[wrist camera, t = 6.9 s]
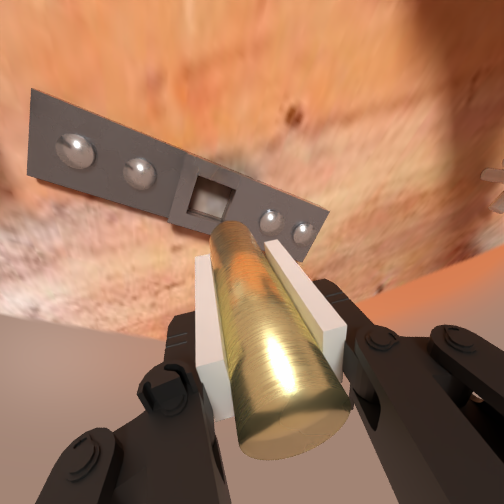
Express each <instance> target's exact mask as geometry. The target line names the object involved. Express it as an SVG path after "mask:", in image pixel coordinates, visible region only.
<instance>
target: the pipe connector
mask: <svg viewBox="0 0 504 504" xmlns="http://www.w3.org/2000/svg"><path fill="white" fill-rule="evenodd" d="M502 165H503V167H504V159H503V161H502ZM481 180H485V181H491V182H498V183H504V170H500V169H491V168H487V169H485V170H484V171H483V172H482V174H481ZM488 209H490V210H491V211H493V212H496V213H500V214H502V213H504V191H503V192H502V193H501V194H500V195H499V196H498V197H497V198H496V199H495V201H494V202H493V203H492V204H491V205H490V206H489V207H488Z"/></svg>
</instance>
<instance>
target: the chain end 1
mask: <svg viewBox="0 0 504 504" xmlns="http://www.w3.org/2000/svg"><path fill="white" fill-rule="evenodd" d="M187 152H188V151H185V150H183V149H181V148H178V147H176V146H173V145H171V144H168V143H166V142H163V141H161V140H159V139H156V138H154V137H151V136H149V135H146V134H144V133H142V132H139V131H137V130H134V129H132V128H129V127H127V126H125V125H122V124H120V123H117V122H115V121H112V120H110V119H108V118H105V117H103V116H100V115H98V114H95V113H93V112H91V111H88V110H86V109H83V108H81V107H78V106H76V105H74V104H71V103H69V102H66V101H64V100H61V99H59V98H57V97H54V96H52V95H49V94H47V93H44V92H42V91H40V90H36V89H33V88H31V102H30V122H29V141H28V161H27V175H28V176H32V177H35V178H38V179H41V180H45V181H48V182H51V183H55V184H58V185H61V186H64V187H68V188H71V189H74V190H78V191H81V192H84V193H87V194H91V195H94V196H97V197H101V198H104V199H107V200H110V201H114V202H117V203H120V204H124V205H127V206H130V207H134V208H137V209H140V210H143V211H147V212H150V213H153V214H157V215H160V216H163V217H166V218H169V214H170V211H171V207H172V204H173V200H174V197H175V193H176V189H177V186H178V182H179V179H180V175H181V172H182V168H183V165H184V161H185V158H186V154H187ZM188 153H190V152H188ZM190 154H192V155H195V154H193V153H190ZM195 156H197V157H200V156H198V155H195ZM200 158H202V157H200ZM202 159H205V158H202ZM205 160H207V159H205ZM207 161H210V160H207ZM210 162H212V161H210ZM212 163H214V164H217V163H215V162H212ZM217 165H219V164H217ZM219 166H222V165H219ZM222 167H224V166H222ZM224 168H227V167H224ZM227 169H229V168H227ZM229 170H232V169H229ZM232 171H234V170H232ZM234 172H236V171H234ZM236 173H239V172H236ZM239 174H241V173H239ZM241 175H244V174H241ZM244 176H246V175H244ZM246 177H249V176H246ZM249 178H251V177H249ZM251 179H252V178H251ZM234 190H235V189H233V188H232V191H231V194H230V196H229V199H228V202H227V204H226V207H225V210H224V213H223V215H222V218H218V217H215V216H212V215H209V214H206V213H203V212H200V211H197V210H194V209H191V208H188V209H187V211H189V212H192V213H196V214H199V215H202V216H205V217H208V218H211V219H214V220H217V221H220V222H223V219H224V217H225V214H226V211H227V208H228V206H229V203H230V200H231V198H232V195H233V192H234Z"/></svg>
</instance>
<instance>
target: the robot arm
mask: <svg viewBox="0 0 504 504" xmlns="http://www.w3.org/2000/svg"><path fill="white" fill-rule="evenodd" d="M264 247H265V256H266V259H267V260H268V262H269V264H270V266H271V267H272V269H273V271H274V272H275V274H276V276H277V277H278V279H279V281H280V282H281V284H282V286H283V287H284V289H285V291H286V293H287V294H288V296H289V298H290V299H291V301H292V303H293V304H294V306H295V308H296V309H297V311H298V313H299V314H300V316H301V318H302V319H303V321H304V323H305V325H306V326H307V328H308V330H309V331H310V333H311V335H312V336H313V338H314V340H315V341H316V343H317V345H318V346H319V348H320V350H321V352H322V353H323V355H324V357H325V358H326V360H327V362H328V363H329V365H330V367H331V368H332V370H333V372H334V373H335V375H336V377H337V379H338V380H339V382H340V383H342V379H343V372H344V374H345V376H346V377H347V379H348V380H349V382H350V392H349V399H350V402H351V410H353V407H354V403H355V406H356V408H357V410H358V412H359V415H360V417H361V419H362V421H363V423H364V426H365V428H366V430H367V433H368V435H369V437H370V439H371V441H372V444H373V446H374V448H375V450H376V453H377V455H378V457H379V459H380V462H381V464H382V466H383V469H384V471H385V473H386V475H387V477H388V479H389V482H390V484H391V486H392V489H393V491H394V493H395V495H396V498H397V500H398V502H399V504H504V351H502V350H500V349H499V348H498V347H496V346H494V345H493V344H491V343H489V342H488V341H486V340H485V339H483V338H482V337H480V336H478V335H477V334H475V333H473V332H471V331H469V330H467V329H464V328H461V327H458V326H453V325H440V326H436V327H435V328H434V329H432V331H431V334H430V337H403V336H399V335H397V334H396V333H395V332H394V331H392V330H390V329H388V328H386V327H382V326H378V325H374V324H373V323H372V322H371V321H370V320H369V319H368V318H367V317H366V315H365V314H364V313H362V311H360V309H359V308H358V307H357V306H356V305H355V304H354V303H353V302H352V301H351V300H350V299H349V298H348V297H347V296H346V295H345V294H344V293H343V292H342V290H341V289H340V288H339V287H338V286H337V285H336V284H334V283H333V282H331V281H329V280H327V279H325V278H324V279H320V280H316V281H311V280H310V279H309V278H308V276H307V275H306V274H305V273H304V271H303V270H302V269H301V268H300V266H299V265H298V264H297V263H296V262H295V260H294V259H293V258H292V257H291V255H290V254H289V253H288V252H287V250H286V249H285V248H284V247H283V246H282V244H281V243H280V242H279V241H278V239H277V240H272V241H267V242H264ZM472 392H475V393H476V394H477V395H478V396H479V397H481V398H482V399H483V400H482V399H480V398H477V397H476V396H474V395H473V394H472ZM137 396H138V397H139V399H140V401H141V403H142V404H143V406H144V408H145V409H146V410H145V411H144V412H143V413H142V414H140V415H139V416H138V417H136V418H135V419H133V420H132V421H130V422H129V423H127V424H125V425H124V426H122V427H121V428H119V429H117V430H116V431H114V432H112V431H110V430H109V429H107V428H95V429H92V430H90V431H87V432H85V433H84V434H82V435H81V436H80V437H78V438H77V439H75V440H74V441H73V442H72V443H71V444H70V445H69V446H68V447H67V448H66V449H65V450H64V451H63V453H62V454H61V456H60V457H59V459H58V460H57V462H56V463H55V465H54V467H53V469H52V471H51V473H50V475H49V477H48V479H47V481H46V483H45V485H44V487H43V489H42V491H41V493H40V495H39V497H38V499H37V501H36V503H35V504H231V499H230V495H229V490H228V485H227V481H226V476H225V472H224V467H223V462H222V458H221V453H220V449H219V444H218V440H217V437H216V435H215V432H214V431H215V430H214V418H215V421H216V422H218V421H221V420H224V419H227V418H231V417H233V416H235V415H234V408H233V401H232V394H231V387H230V378H229V371H228V365H227V358H226V351H225V344H224V337H223V331H222V324H221V317H220V310H219V303H218V296H217V290H216V283H215V276H214V270H213V266H212V262H211V258H210V254H206V255H202V256H197V257H195V311H193V312H189V313H185V314H181V315H177V316H174V318H173V320H172V321H171V323H170V324H169V326H168V332H167V340H166V349H165V354H164V362H162V363H161V364H159V365H157V366H155V367H154V368H153V369H151V370H150V371H149V372H148V373H147V374H146V375H145V376H144V378H143V380H142V381H141V383H140V384H139V388H138V391H137Z"/></svg>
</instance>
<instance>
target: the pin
mask: <svg viewBox="0 0 504 504" xmlns="http://www.w3.org/2000/svg"><path fill="white" fill-rule="evenodd" d="M209 243H210V250H211V257H212V264H213V270H214V276H215V283H216V290H217V296H218V303H219V310H220V317H221V324H222V331H223V337H224V344H225V351H226V358H227V365H228V371H229V378H230V387H231V394H232V401H233V408H234V415H235V421H236V429H237V436H238V442H239V446H240V449H241V450H242V452H243V453H244V454H246V455H247V456H249V457H251V458H254V459H260V460H279V459H285V458H289V457H293V456H296V455H299V454H302V453H304V452H307V451H309V450H311V449H313V448H315V447H317V446H319V445H320V444H322V443H324V442H325V441H326V440H328V439H329V438H331V437H332V436H333V435H334V434H335V433H336V432H337V431H339V429H340V428H341V427H342V426H343V425H344V423H345V422H346V420H347V419H348V416H349V414H350V411H351V402H350V399H349V397H348V395H347V394H346V392H345V391H344V389H343V387H342V385H341V384H340V382H339V380H338V379H337V377H336V375H335V373H334V372H333V370H332V368H331V367H330V365H329V363H328V362H327V360H326V358H325V357H324V355H323V353H322V352H321V350H320V348H319V346H318V345H317V343H316V341H315V340H314V338H313V336H312V335H311V333H310V331H309V330H308V328H307V326H306V325H305V323H304V321H303V319H302V318H301V316H300V314H299V313H298V311H297V309H296V308H295V306H294V304H293V303H292V301H291V299H290V298H289V296H288V294H287V293H286V291H285V289H284V287H283V286H282V284H281V282H280V281H279V279H278V277H277V276H276V274H275V272H274V271H273V269H272V267H271V266H270V264H269V262H268V260H267V259H266V257H265V255H264V254H263V252H262V250H261V249H260V247H259V245H258V244H257V242H256V240H255V239H254V237H253V235H252V234H251V232H250V230H249V229H248V227H247V226H246V225H244V224H243V223H241V222H239V221H233V220H230V221H225V222H222V223H220V224H219V225H217V226H216V227H215V228H214V229H213V231H212V233H211V235H210V239H209Z"/></svg>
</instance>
